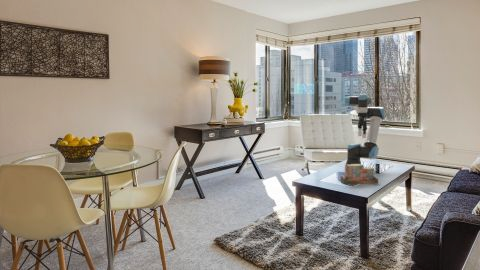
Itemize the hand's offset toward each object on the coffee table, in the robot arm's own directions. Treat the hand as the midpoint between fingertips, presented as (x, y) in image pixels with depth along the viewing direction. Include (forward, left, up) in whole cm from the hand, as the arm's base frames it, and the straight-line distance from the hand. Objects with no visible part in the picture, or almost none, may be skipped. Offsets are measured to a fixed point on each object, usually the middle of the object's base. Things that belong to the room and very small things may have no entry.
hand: (361, 137), depth 292 cm
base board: (+26, -8, -33) cm, 42 cm away
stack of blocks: (+25, -8, -31) cm, 41 cm away
